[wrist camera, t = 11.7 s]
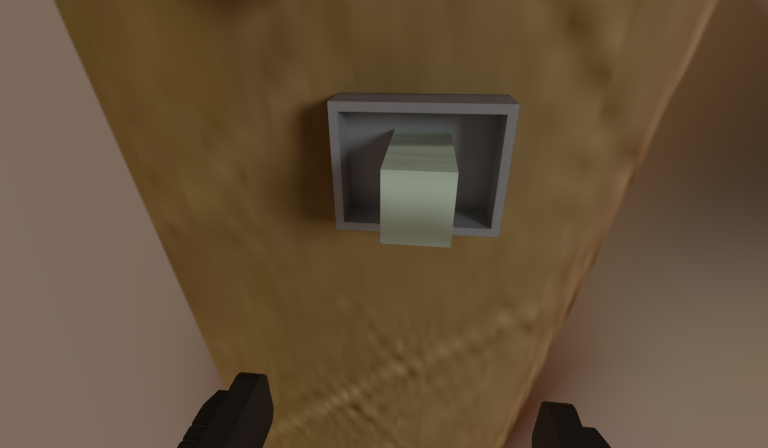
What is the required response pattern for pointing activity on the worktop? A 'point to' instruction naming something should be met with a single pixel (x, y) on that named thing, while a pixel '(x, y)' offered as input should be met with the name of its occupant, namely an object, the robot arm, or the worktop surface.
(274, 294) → the worktop surface
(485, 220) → the bin
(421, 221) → the sage block
